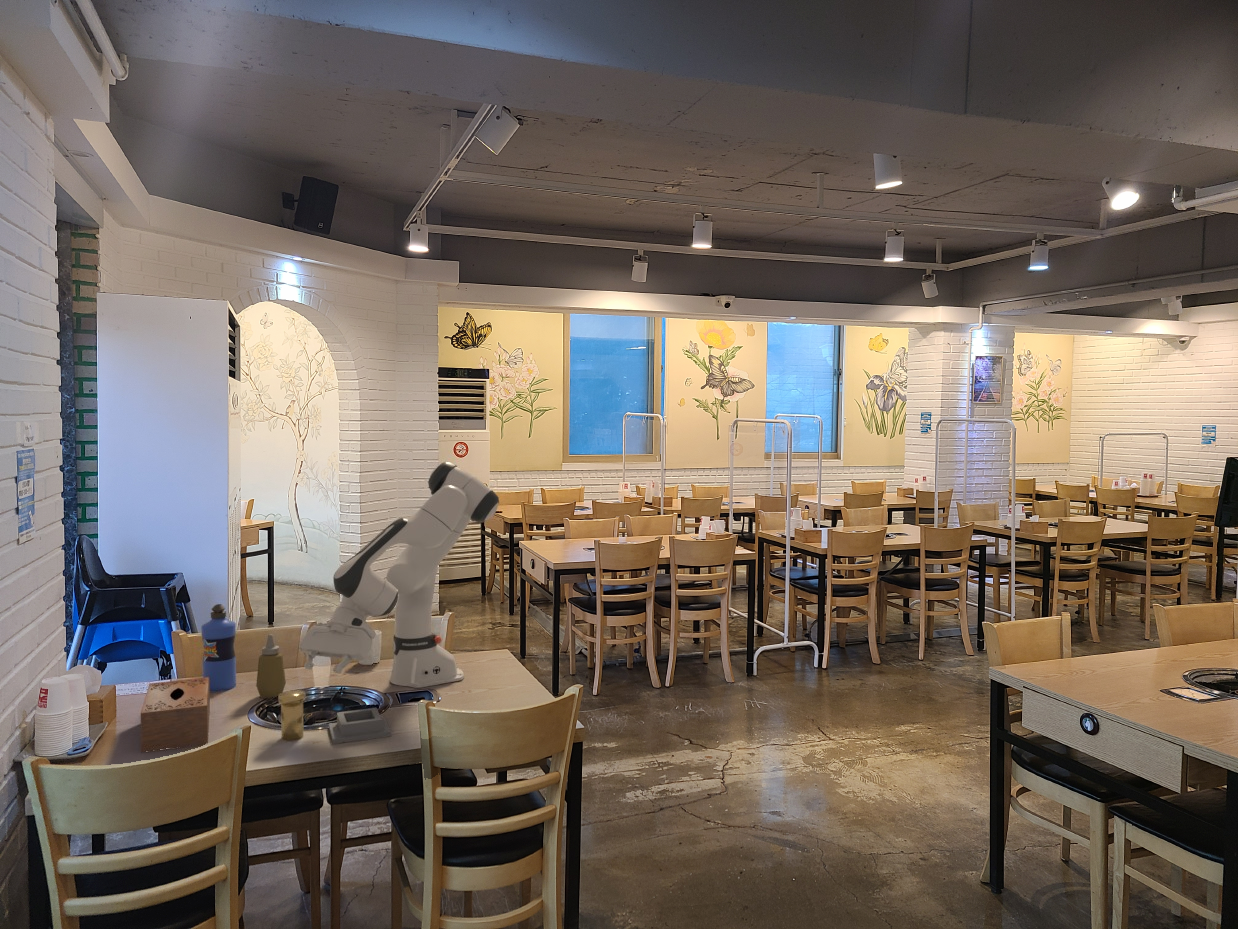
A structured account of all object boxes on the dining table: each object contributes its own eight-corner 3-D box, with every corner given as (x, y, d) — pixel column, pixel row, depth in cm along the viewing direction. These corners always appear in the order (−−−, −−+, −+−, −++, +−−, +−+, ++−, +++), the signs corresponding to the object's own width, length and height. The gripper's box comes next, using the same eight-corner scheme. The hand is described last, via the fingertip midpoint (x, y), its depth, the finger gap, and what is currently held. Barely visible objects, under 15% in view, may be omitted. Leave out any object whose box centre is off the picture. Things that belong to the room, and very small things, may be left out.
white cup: (359, 659, 286) (359, 630, 286) (383, 659, 287) (383, 629, 287) (354, 666, 278) (354, 635, 278) (379, 665, 279) (378, 635, 279)
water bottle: (220, 680, 262) (219, 600, 260) (243, 684, 258) (242, 603, 257) (195, 689, 253) (193, 606, 252) (218, 693, 249) (217, 609, 248)
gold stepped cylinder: (305, 731, 219) (304, 689, 219) (306, 739, 214) (306, 696, 213) (278, 734, 217) (277, 692, 216) (279, 743, 211) (278, 699, 210)
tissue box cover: (150, 720, 228) (149, 683, 227) (209, 712, 234) (209, 677, 233) (141, 754, 204) (140, 713, 204) (207, 745, 210) (207, 705, 210)
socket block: (383, 721, 227) (383, 705, 227) (390, 736, 216) (390, 719, 216) (328, 728, 222) (328, 712, 221) (333, 744, 211) (333, 727, 210)
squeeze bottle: (275, 701, 243) (274, 639, 242) (250, 699, 244) (249, 637, 243) (291, 692, 251) (291, 632, 250) (267, 690, 252) (266, 630, 251)
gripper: (309, 616, 234) (284, 660, 225) (371, 622, 227) (347, 668, 218) (320, 628, 238) (296, 672, 230) (381, 635, 231) (358, 680, 223)
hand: (321, 670), depth 224 cm, fingers open, 8 cm apart
